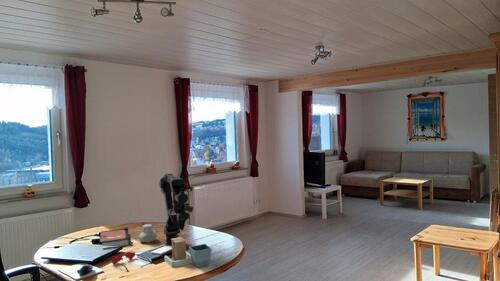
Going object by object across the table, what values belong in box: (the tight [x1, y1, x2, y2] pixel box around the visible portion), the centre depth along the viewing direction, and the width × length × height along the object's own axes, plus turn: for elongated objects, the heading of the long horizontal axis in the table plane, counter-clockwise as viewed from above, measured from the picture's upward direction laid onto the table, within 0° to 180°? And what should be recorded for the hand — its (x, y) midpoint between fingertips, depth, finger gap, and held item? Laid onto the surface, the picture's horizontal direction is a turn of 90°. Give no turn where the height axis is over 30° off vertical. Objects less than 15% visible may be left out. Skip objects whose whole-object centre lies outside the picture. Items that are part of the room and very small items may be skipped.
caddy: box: [171, 236, 187, 261], centre depth 198 cm, size 7×5×11 cm
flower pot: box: [188, 243, 212, 268], centre depth 191 cm, size 9×9×9 cm
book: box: [99, 227, 132, 247], centre depth 238 cm, size 26×18×5 cm
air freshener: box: [138, 223, 158, 244], centre depth 235 cm, size 11×8×10 cm
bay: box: [164, 251, 194, 268], centre depth 197 cm, size 12×12×2 cm
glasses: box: [110, 250, 153, 273], centre depth 195 cm, size 14×16×5 cm
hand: (179, 228), depth 213 cm, fingers open, 9 cm apart
